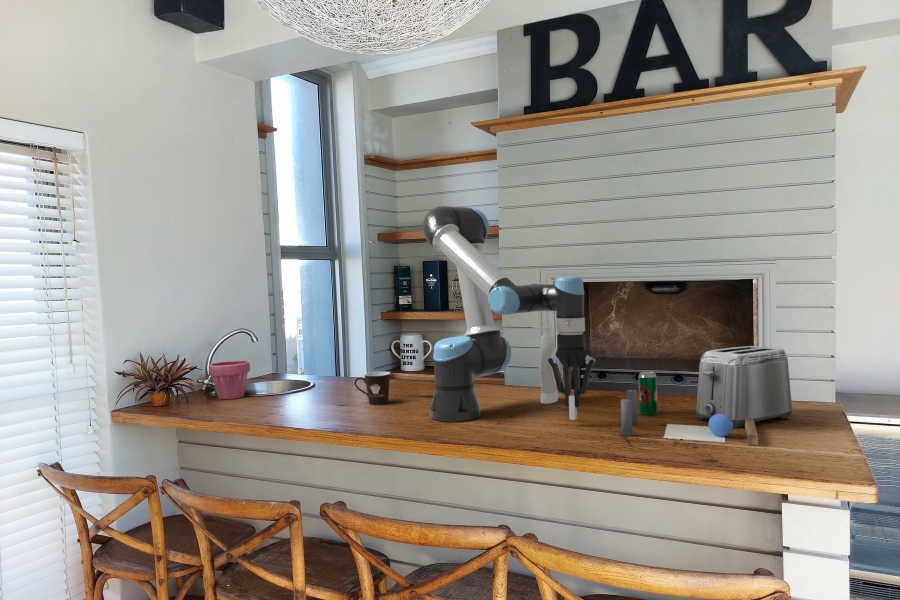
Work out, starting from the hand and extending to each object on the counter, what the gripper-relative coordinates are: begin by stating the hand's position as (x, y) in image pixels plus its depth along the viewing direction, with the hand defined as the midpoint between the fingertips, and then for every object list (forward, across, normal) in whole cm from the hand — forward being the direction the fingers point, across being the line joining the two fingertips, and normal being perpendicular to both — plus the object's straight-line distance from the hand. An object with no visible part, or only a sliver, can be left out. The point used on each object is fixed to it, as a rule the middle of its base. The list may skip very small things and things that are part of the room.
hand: (573, 418), depth 169 cm
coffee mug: (+2, -70, +13) cm, 71 cm away
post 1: (+2, +15, -6) cm, 16 cm away
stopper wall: (+2, +44, 0) cm, 44 cm away
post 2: (+2, +15, +6) cm, 16 cm away
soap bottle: (+2, -15, +29) cm, 33 cm away
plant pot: (+2, -129, +9) cm, 129 cm away
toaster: (+2, +44, +20) cm, 49 cm away
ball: (-1, +37, -1) cm, 37 cm away
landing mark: (+2, +31, 0) cm, 31 cm away
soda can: (+2, +18, +19) cm, 26 cm away
